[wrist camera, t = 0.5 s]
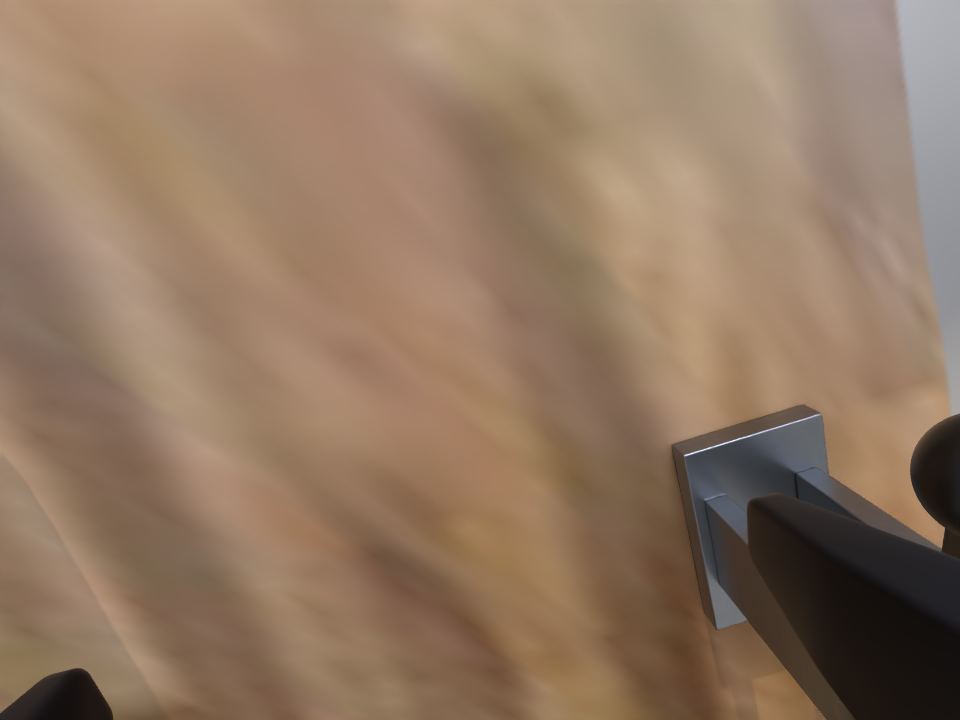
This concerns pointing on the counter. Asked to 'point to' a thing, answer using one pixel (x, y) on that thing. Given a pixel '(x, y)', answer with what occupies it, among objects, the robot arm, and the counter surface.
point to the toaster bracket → (723, 524)
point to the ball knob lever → (940, 478)
